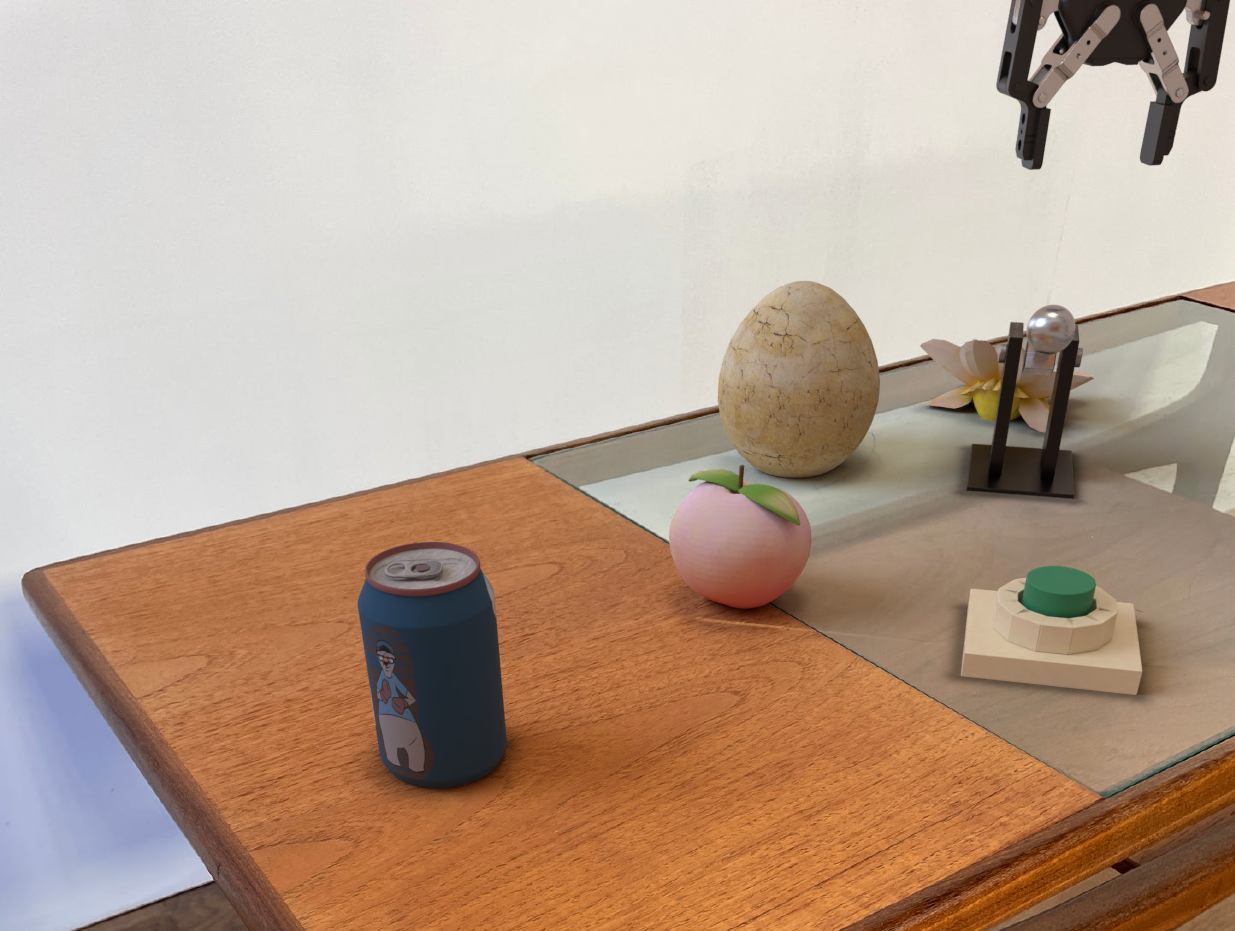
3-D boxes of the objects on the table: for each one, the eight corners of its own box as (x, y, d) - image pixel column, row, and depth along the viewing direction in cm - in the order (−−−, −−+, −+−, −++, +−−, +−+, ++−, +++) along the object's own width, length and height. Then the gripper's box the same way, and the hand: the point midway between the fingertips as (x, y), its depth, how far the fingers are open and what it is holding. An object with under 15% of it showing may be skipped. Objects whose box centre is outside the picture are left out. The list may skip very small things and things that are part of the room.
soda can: (511, 731, 74) (495, 534, 67) (505, 799, 68) (487, 593, 61) (390, 734, 74) (362, 538, 67) (374, 803, 68) (342, 597, 61)
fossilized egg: (686, 484, 104) (689, 290, 96) (761, 438, 113) (770, 256, 104) (828, 515, 99) (845, 312, 90) (895, 464, 107) (916, 274, 98)
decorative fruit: (640, 617, 85) (639, 471, 79) (709, 574, 90) (712, 434, 84) (761, 656, 80) (768, 504, 75) (826, 608, 86) (838, 462, 80)
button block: (1126, 634, 82) (1140, 576, 79) (1134, 704, 75) (1149, 643, 72) (965, 618, 84) (974, 562, 82) (959, 685, 77) (968, 625, 75)
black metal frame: (1071, 509, 98) (1102, 352, 92) (964, 501, 100) (987, 346, 93) (1069, 464, 106) (1097, 316, 99) (970, 457, 108) (991, 311, 101)
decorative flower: (1129, 398, 114) (1134, 287, 107) (1070, 462, 109) (1071, 350, 102) (976, 379, 123) (972, 276, 116) (915, 437, 118) (906, 333, 111)
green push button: (1089, 595, 78) (1095, 568, 77) (1091, 624, 75) (1097, 597, 74) (1022, 589, 79) (1026, 562, 78) (1021, 617, 76) (1026, 590, 75)
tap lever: (1073, 351, 86) (1081, 301, 86) (1024, 348, 87) (1031, 299, 86) (1056, 381, 99) (1063, 338, 98) (1014, 379, 99) (1020, 335, 99)
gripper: (1052, -123, 76) (1009, 179, 85) (1283, -129, 77) (1215, 171, 86) (1009, -121, 82) (973, 161, 91) (1223, -126, 83) (1166, 154, 92)
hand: (1091, 166), depth 89 cm, fingers open, 8 cm apart
